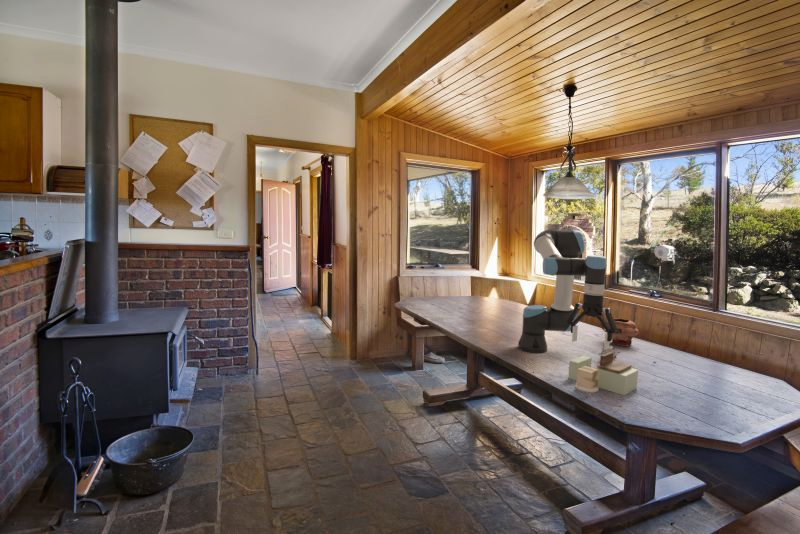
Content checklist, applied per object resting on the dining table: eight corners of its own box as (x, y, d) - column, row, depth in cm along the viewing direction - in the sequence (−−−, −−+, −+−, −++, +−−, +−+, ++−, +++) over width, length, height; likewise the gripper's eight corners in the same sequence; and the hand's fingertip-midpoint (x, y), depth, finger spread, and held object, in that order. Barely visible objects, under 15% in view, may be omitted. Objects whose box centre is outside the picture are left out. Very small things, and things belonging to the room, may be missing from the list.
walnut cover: (596, 367, 188) (597, 355, 187) (609, 361, 196) (610, 350, 195) (618, 373, 181) (619, 361, 181) (631, 367, 189) (632, 355, 188)
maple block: (583, 381, 191) (585, 365, 190) (597, 386, 186) (598, 369, 185) (576, 384, 187) (577, 368, 186) (590, 389, 182) (591, 372, 182)
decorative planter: (596, 342, 256) (598, 318, 255) (602, 338, 266) (603, 315, 264) (635, 349, 244) (637, 324, 243) (639, 344, 254) (641, 320, 252)
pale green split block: (568, 378, 198) (569, 360, 197) (581, 372, 206) (583, 355, 205) (624, 395, 180) (625, 376, 179) (636, 388, 188) (638, 369, 187)
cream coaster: (571, 387, 187) (571, 384, 187) (581, 382, 193) (582, 380, 193) (592, 394, 180) (592, 391, 180) (602, 389, 186) (602, 386, 186)
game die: (612, 369, 222) (623, 357, 216) (595, 362, 224) (605, 350, 217) (612, 356, 229) (623, 344, 222) (596, 349, 230) (606, 337, 223)
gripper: (560, 290, 189) (557, 339, 191) (621, 299, 170) (616, 353, 173) (569, 288, 194) (566, 336, 196) (629, 297, 175) (625, 350, 178)
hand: (590, 344), depth 184 cm, fingers open, 13 cm apart
